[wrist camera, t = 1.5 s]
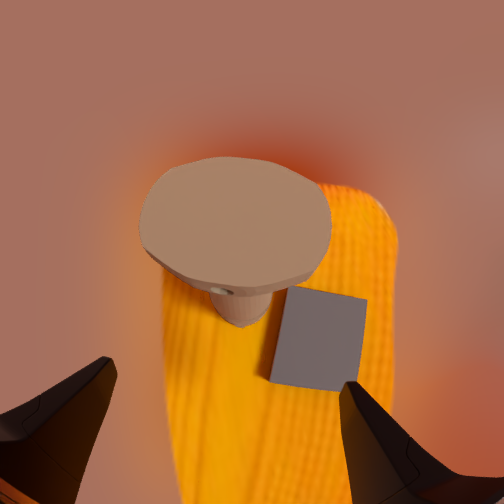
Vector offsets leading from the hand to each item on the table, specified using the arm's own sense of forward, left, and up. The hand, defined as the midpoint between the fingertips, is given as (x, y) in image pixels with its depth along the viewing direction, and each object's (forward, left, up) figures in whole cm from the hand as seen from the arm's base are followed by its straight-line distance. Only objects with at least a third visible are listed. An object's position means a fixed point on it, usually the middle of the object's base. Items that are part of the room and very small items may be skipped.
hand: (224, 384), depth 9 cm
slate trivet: (+4, -6, -12) cm, 14 cm away
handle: (+5, +1, -12) cm, 14 cm away
